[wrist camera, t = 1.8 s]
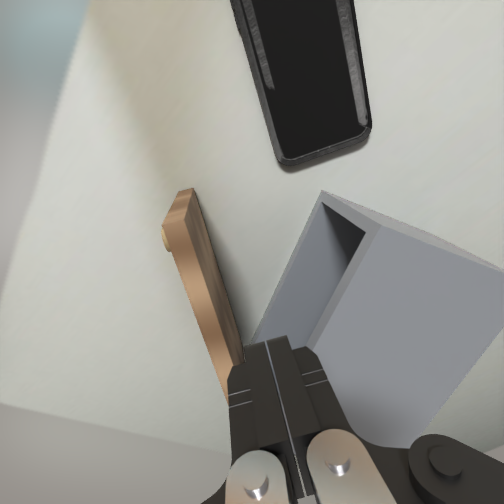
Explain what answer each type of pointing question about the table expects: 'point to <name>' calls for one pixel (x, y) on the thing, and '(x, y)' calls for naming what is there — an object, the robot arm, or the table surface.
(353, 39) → the phone
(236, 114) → the table surface
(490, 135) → the table surface
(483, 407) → the table surface
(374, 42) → the table surface
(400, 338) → the storage box
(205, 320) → the door
